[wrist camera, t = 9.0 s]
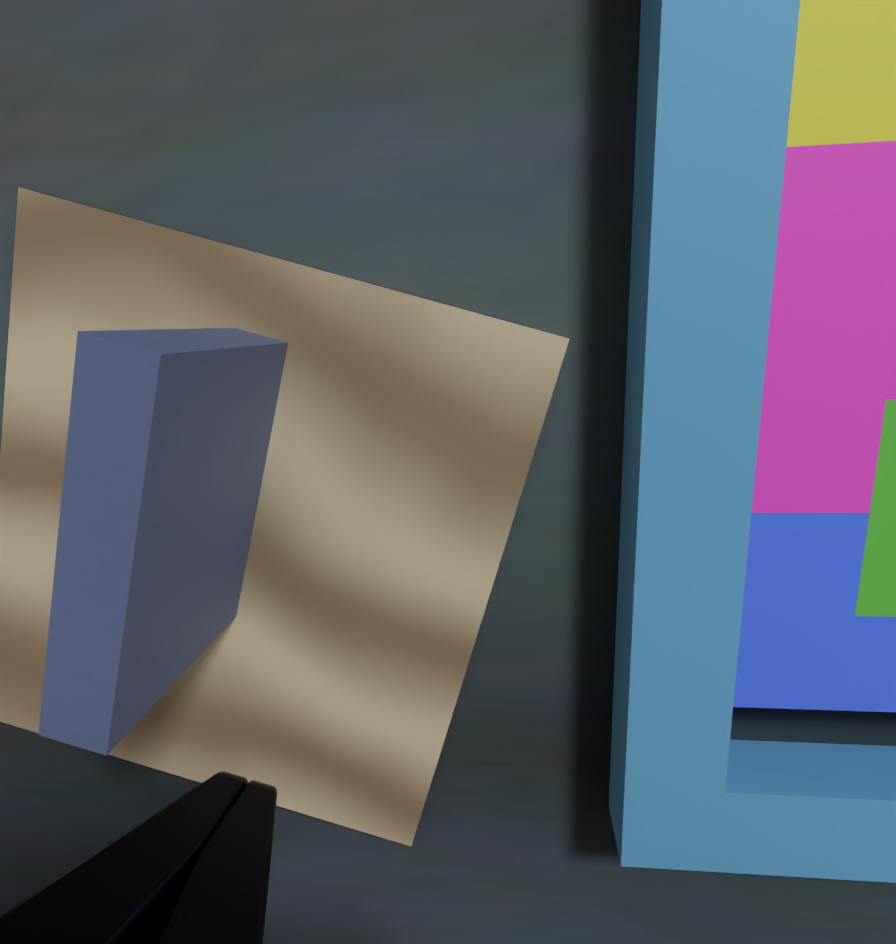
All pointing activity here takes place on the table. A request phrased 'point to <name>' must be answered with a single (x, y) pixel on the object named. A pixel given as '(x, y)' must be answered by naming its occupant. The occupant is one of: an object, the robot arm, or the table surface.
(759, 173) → the tetris game
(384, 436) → the wooden mat
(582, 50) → the table surface
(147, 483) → the card deck
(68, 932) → the robot arm
